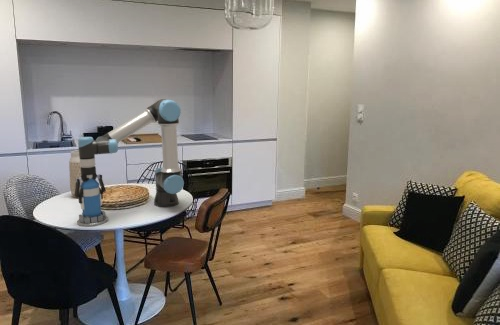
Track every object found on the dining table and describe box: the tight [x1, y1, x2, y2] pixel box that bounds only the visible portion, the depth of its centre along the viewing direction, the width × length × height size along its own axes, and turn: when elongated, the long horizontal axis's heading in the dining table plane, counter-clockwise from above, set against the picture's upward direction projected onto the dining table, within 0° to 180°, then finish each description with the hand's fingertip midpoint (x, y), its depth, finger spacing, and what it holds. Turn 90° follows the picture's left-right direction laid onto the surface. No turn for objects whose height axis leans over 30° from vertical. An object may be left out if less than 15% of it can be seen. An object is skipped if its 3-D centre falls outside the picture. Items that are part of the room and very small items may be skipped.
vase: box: [68, 149, 83, 199], centre depth 265 cm, size 14×14×31 cm
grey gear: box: [76, 209, 109, 228], centre depth 217 cm, size 16×16×5 cm
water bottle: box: [80, 174, 102, 217], centre depth 215 cm, size 9×9×25 cm
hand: (91, 206), depth 216 cm, fingers closed on water bottle, 9 cm apart
